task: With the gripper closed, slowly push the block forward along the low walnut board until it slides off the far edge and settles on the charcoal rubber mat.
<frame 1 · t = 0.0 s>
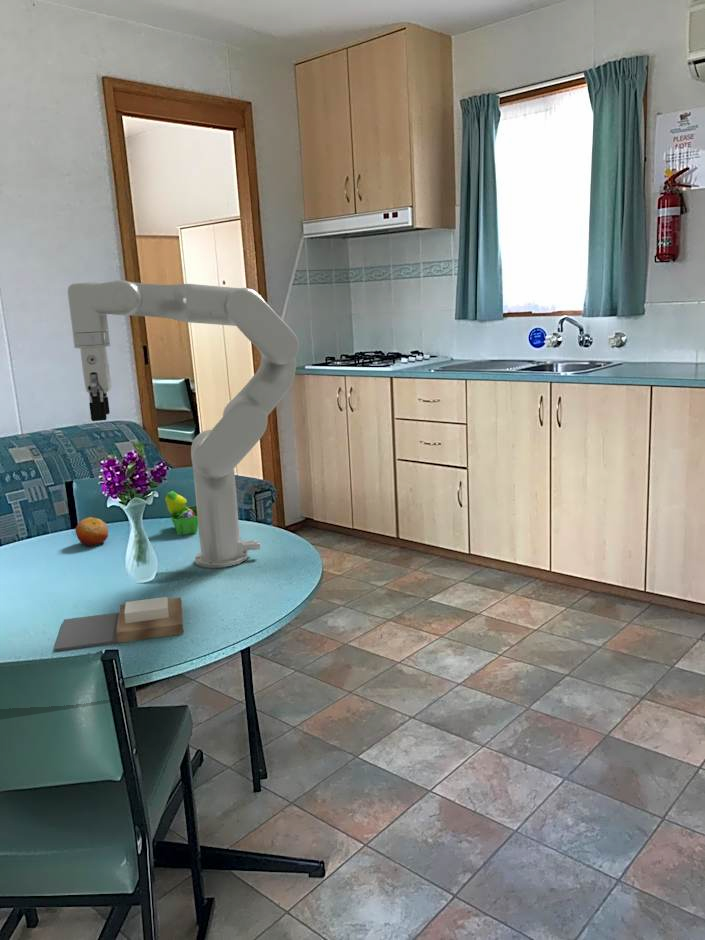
hand: (100, 417, 175), 37 cm above the table, tool pointing down, fingers open, 9 cm apart
green easter basket: (185, 530, 215), on the table
board: (151, 623, 152), on the table
mat: (89, 631, 150), on the table
fruit: (93, 544, 206), on the table
block: (147, 614, 152), point 2 cm above the table, touching board
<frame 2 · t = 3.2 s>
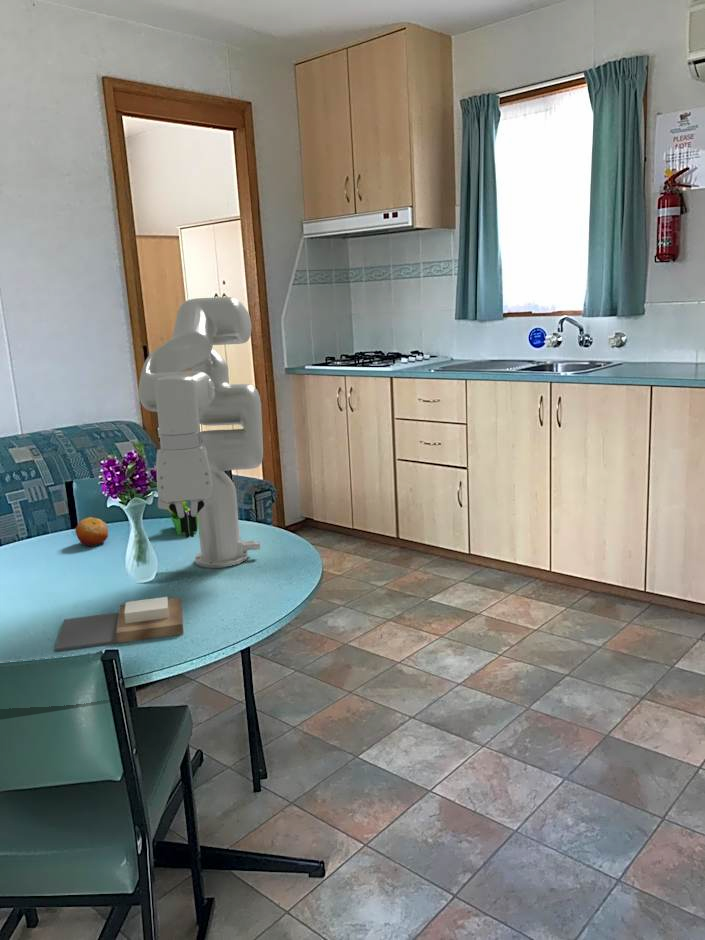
hand: (189, 535, 150), 17 cm above the table, tool pointing down, fingers closed
nothing on the table moved.
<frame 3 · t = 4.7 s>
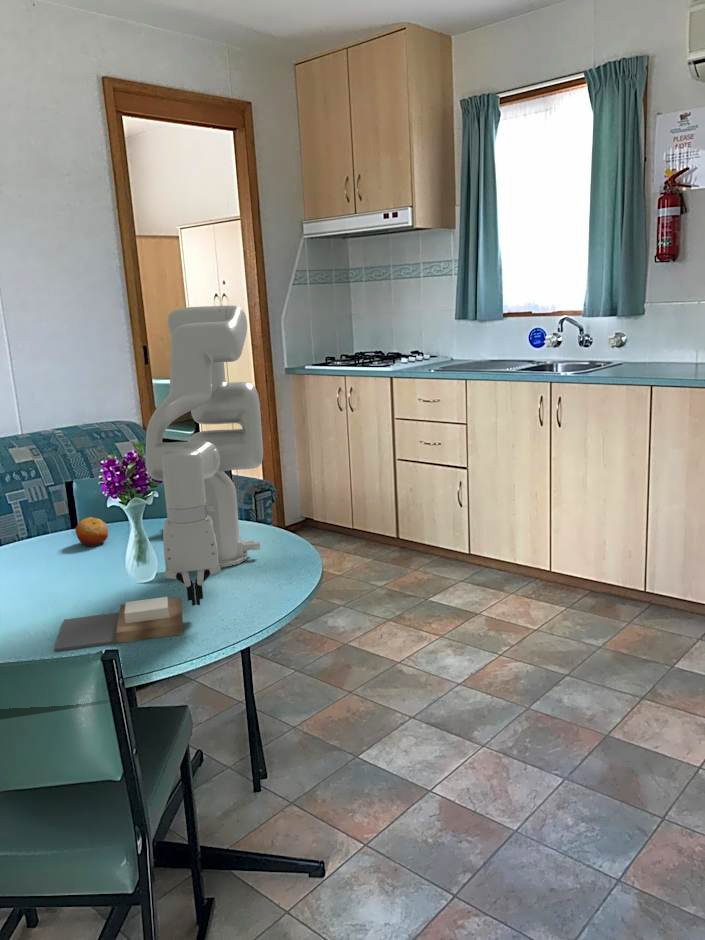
hand: (195, 602, 153), 3 cm above the table, tool pointing down, fingers closed
nothing on the table moved.
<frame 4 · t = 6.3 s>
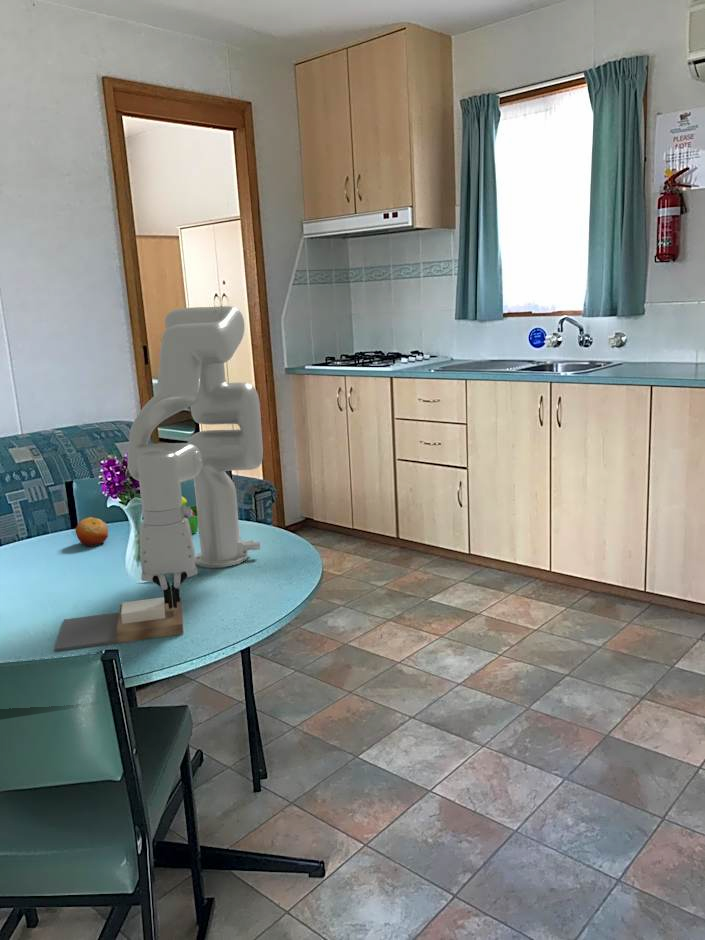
hand: (172, 605, 152), 3 cm above the table, tool pointing down, fingers closed
block: (144, 615, 151), point 2 cm above the table
everything else where it was.
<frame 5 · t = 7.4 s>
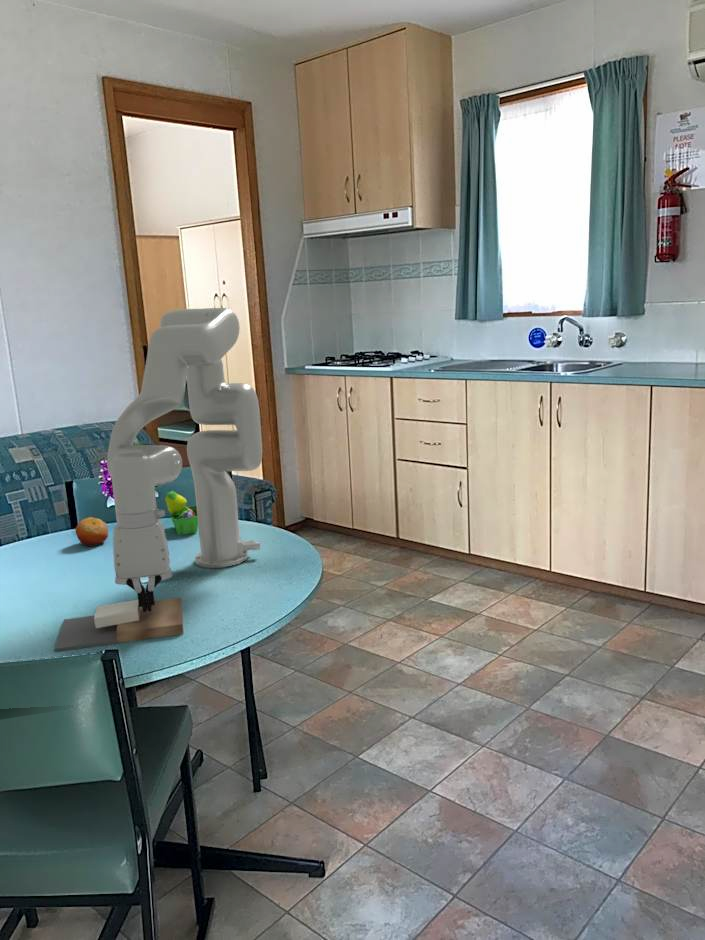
hand: (147, 608, 151), 3 cm above the table, tool pointing down, fingers closed
block: (118, 618, 150), point 2 cm above the table, touching board
everything else where it was.
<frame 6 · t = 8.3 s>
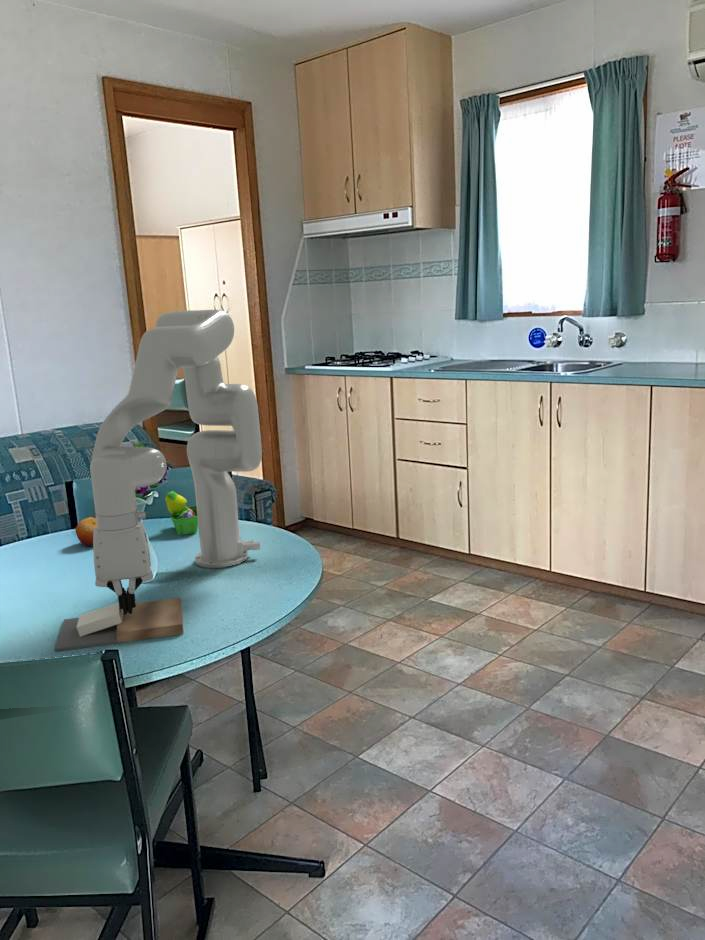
hand: (128, 611, 150), 3 cm above the table, tool pointing down, fingers closed
block: (102, 623, 150), point 1 cm above the table, tilted 12°, touching gripper
everything else where it was.
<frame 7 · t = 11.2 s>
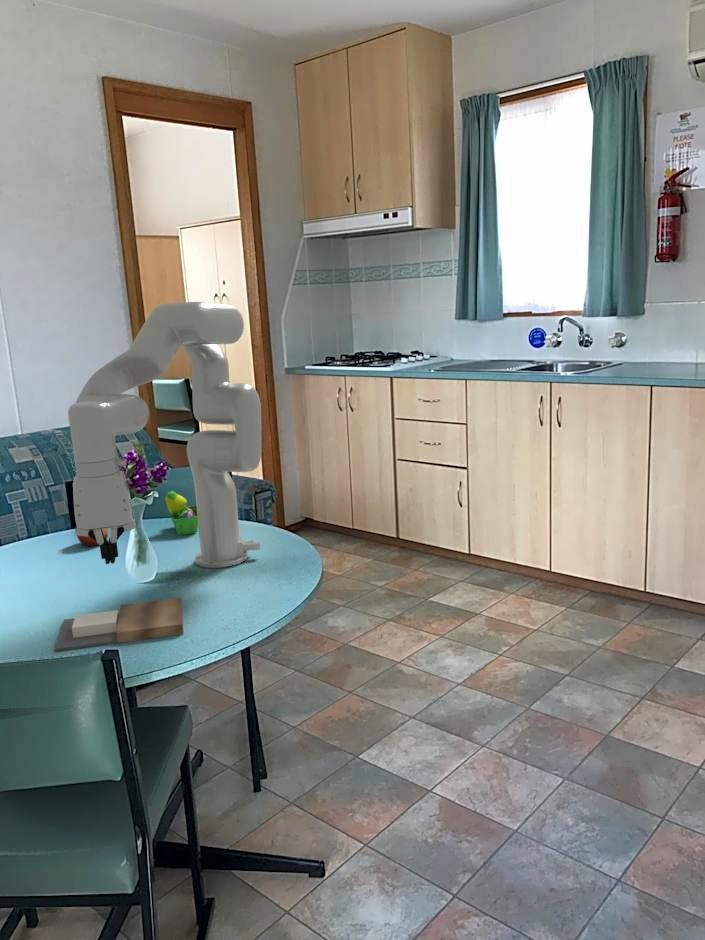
hand: (110, 561, 148), 14 cm above the table, tool pointing down, fingers closed
block: (96, 628, 150), on the table, touching mat
everything else where it was.
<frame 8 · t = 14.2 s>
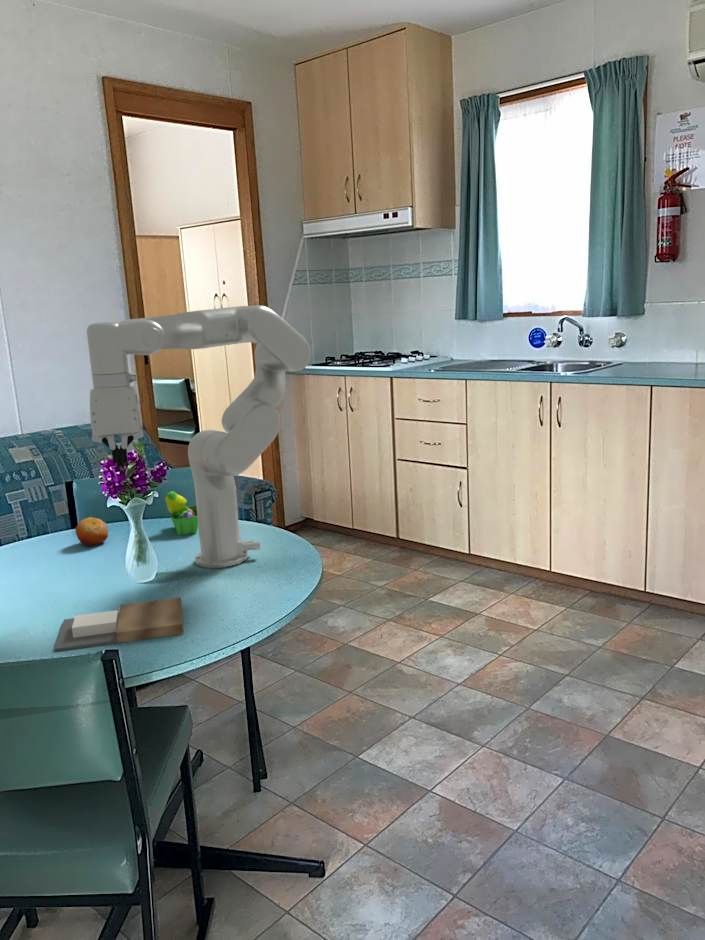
hand: (121, 466, 168), 27 cm above the table, tool pointing down, fingers closed
nothing on the table moved.
at the end: block inside the target area (1.1 cm from its centre), point 0.5 cm above the table; block touching mat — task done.
